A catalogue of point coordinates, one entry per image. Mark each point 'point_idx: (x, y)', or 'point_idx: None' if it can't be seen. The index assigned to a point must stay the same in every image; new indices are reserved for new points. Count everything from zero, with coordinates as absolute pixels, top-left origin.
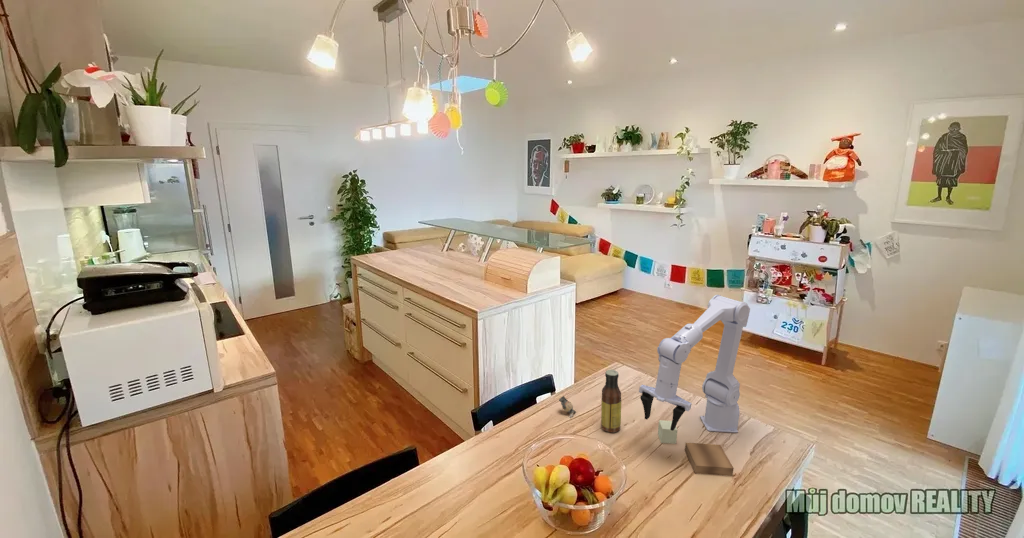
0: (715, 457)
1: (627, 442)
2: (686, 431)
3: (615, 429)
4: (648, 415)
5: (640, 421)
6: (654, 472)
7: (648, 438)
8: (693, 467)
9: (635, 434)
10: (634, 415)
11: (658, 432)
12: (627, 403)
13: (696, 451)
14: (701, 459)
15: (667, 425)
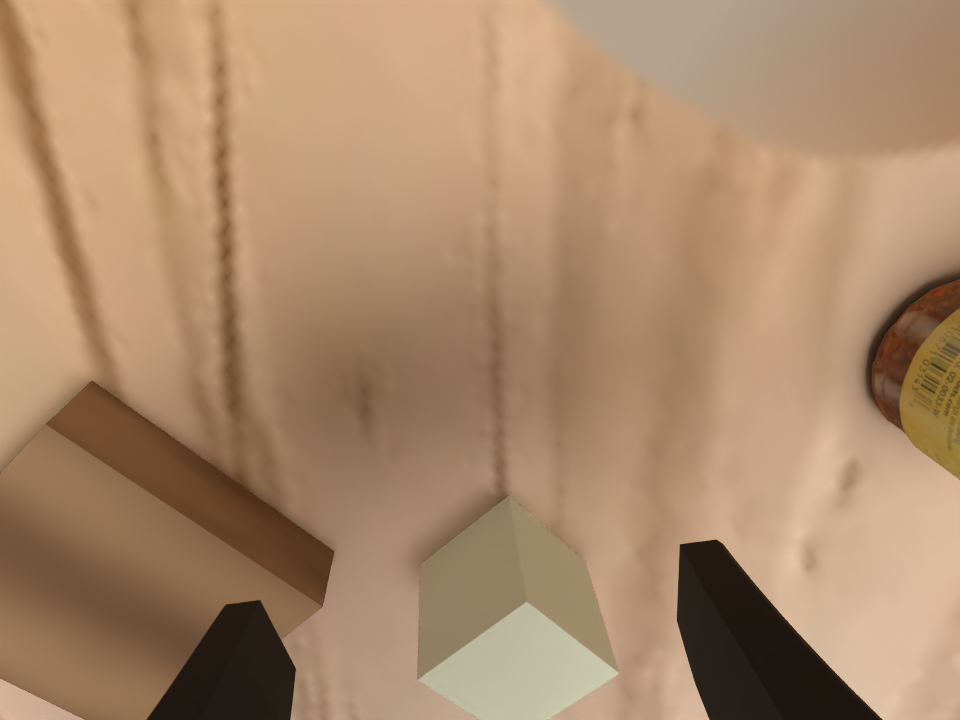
0: (45, 620)
1: (734, 292)
2: (447, 707)
3: (913, 335)
4: (699, 631)
5: (760, 585)
6: (311, 100)
7: (613, 469)
8: (126, 422)
9: (723, 434)
10: (829, 609)
11: (579, 570)
12: (927, 675)
13: (187, 578)
14: (86, 525)
15: (520, 667)
